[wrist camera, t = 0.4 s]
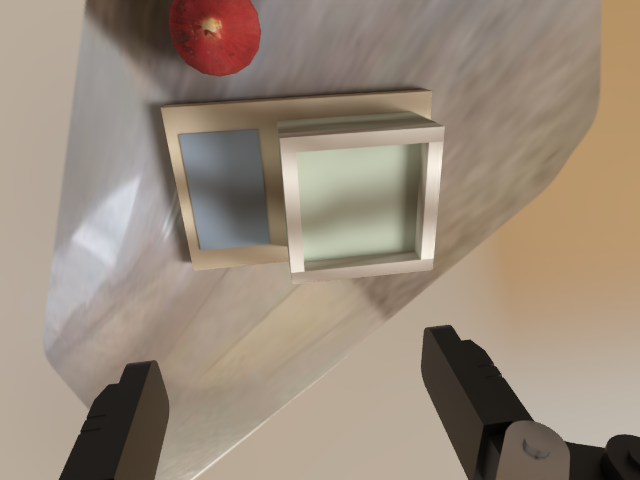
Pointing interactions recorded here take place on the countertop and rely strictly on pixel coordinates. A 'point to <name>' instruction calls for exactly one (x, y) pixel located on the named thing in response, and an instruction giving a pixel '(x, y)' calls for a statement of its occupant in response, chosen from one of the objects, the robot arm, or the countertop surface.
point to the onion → (215, 34)
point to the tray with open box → (309, 182)
